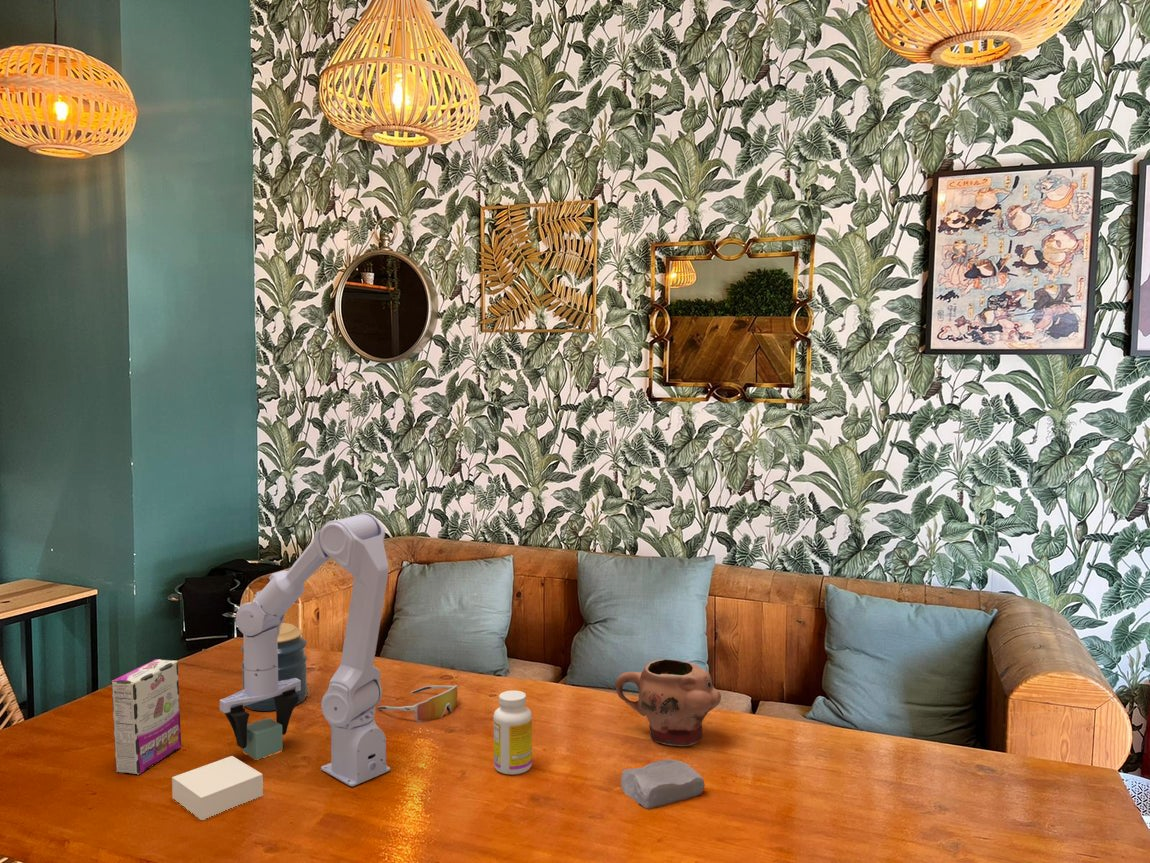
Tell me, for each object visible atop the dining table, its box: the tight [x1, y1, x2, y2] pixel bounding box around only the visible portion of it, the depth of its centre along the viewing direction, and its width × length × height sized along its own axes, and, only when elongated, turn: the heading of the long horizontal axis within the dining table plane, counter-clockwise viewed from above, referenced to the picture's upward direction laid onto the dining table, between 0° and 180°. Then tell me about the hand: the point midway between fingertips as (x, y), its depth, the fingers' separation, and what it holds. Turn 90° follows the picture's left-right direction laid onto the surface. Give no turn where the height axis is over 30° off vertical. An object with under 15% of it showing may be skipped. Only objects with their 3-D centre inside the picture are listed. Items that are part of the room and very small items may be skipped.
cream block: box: [171, 755, 264, 821], centre depth 133 cm, size 10×10×4 cm
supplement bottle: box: [493, 690, 533, 776], centre depth 144 cm, size 7×7×13 cm
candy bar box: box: [111, 658, 182, 776], centre depth 146 cm, size 11×5×16 cm, turn 168°
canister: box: [240, 622, 308, 712], centre depth 173 cm, size 13×13×18 cm
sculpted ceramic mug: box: [614, 658, 722, 747], centre depth 156 cm, size 20×12×14 cm, turn 80°
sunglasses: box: [377, 684, 458, 723], centre depth 170 cm, size 14×15×5 cm
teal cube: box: [242, 717, 284, 760], centre depth 149 cm, size 5×5×5 cm
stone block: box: [620, 759, 705, 810], centre depth 136 cm, size 12×5×10 cm
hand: (262, 739), depth 149 cm, fingers open, 7 cm apart
